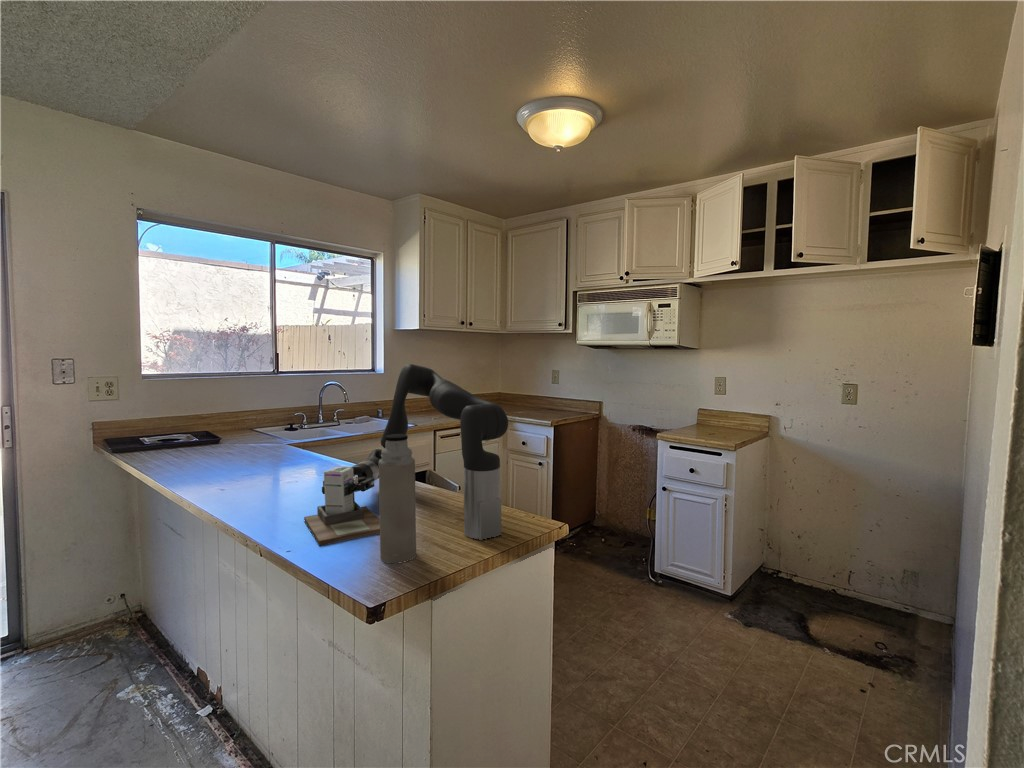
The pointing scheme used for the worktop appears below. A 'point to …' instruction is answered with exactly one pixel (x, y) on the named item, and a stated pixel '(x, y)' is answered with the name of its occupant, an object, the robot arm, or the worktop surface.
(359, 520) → the board
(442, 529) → the worktop surface
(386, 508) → the thermos bottle
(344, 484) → the syrup box
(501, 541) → the worktop surface
